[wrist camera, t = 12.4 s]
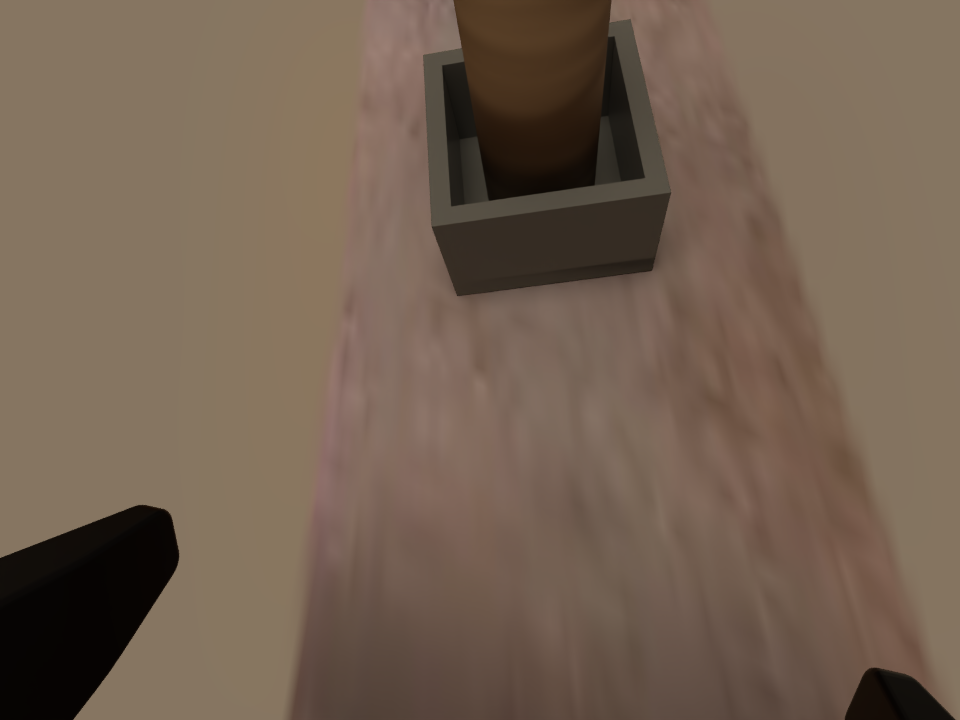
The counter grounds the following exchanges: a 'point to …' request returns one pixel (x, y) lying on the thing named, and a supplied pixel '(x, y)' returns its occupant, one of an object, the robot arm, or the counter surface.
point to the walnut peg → (535, 90)
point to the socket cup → (553, 215)
